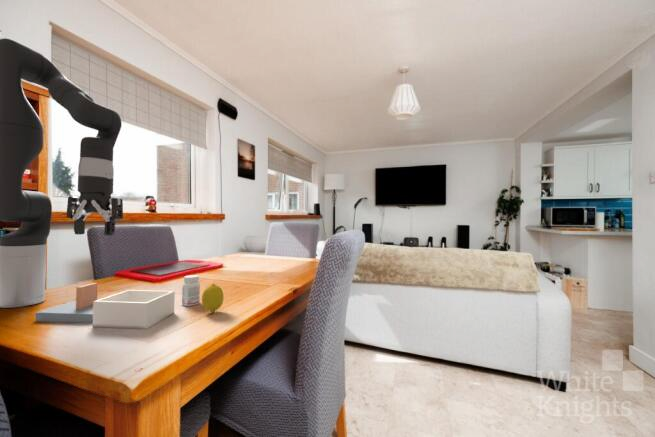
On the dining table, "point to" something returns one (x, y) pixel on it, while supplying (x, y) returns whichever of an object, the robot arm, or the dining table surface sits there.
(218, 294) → the lemon
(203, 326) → the dining table surface
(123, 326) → the box
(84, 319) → the lid
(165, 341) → the dining table surface
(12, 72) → the robot arm
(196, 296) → the pill bottle
